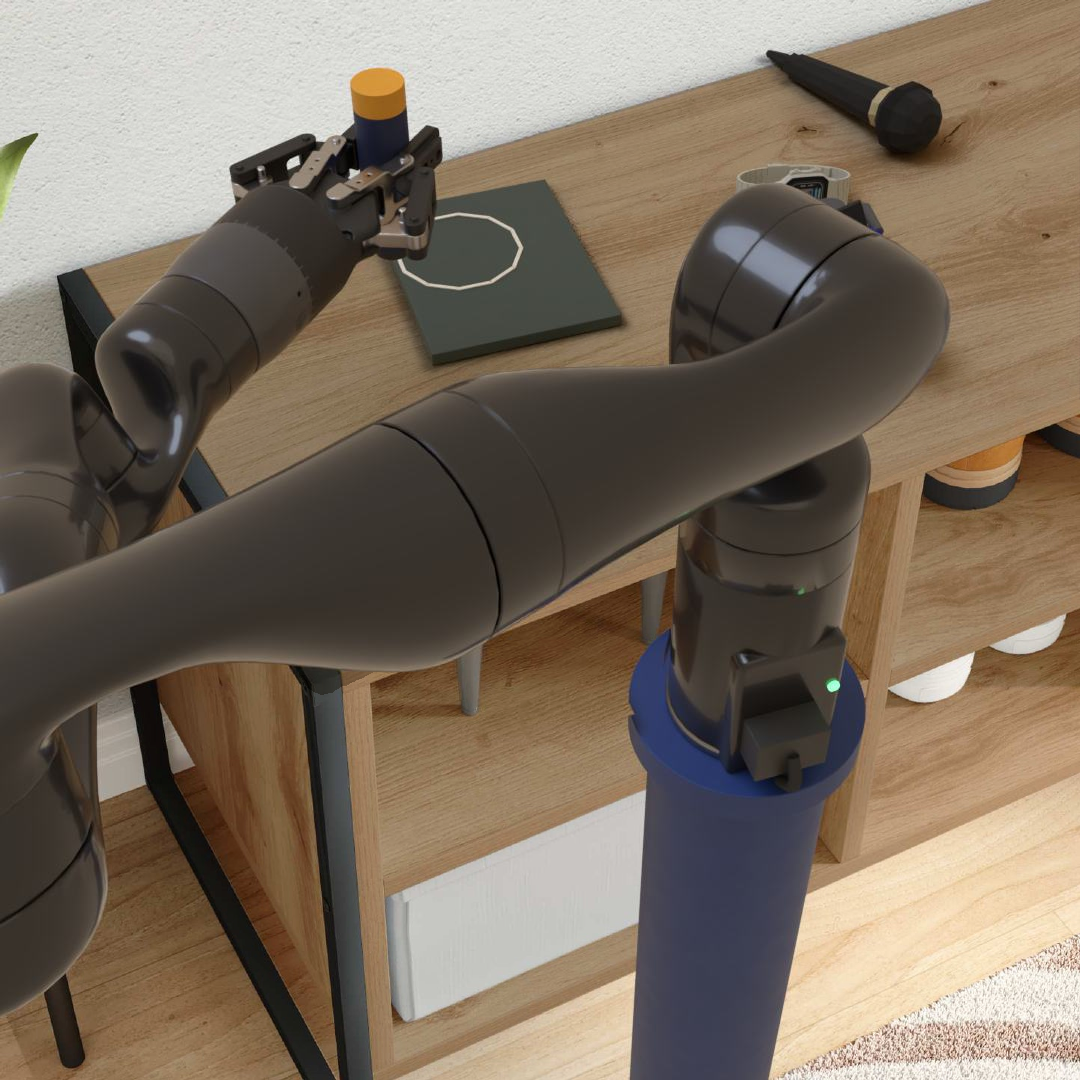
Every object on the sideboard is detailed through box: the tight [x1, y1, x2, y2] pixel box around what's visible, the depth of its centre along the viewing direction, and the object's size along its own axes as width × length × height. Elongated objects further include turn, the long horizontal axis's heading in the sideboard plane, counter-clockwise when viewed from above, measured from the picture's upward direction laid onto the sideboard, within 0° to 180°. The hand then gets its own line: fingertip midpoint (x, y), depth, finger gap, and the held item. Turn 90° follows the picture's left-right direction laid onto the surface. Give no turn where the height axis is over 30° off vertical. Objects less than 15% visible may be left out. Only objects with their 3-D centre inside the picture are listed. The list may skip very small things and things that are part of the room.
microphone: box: [765, 49, 944, 155], centre depth 131 cm, size 6×6×20 cm
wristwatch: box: [735, 162, 852, 205], centre depth 120 cm, size 9×6×5 cm
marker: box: [349, 67, 410, 261], centre depth 97 cm, size 3×3×12 cm
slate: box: [388, 178, 622, 366], centre depth 117 cm, size 18×14×1 cm
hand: (407, 132), depth 98 cm, fingers closed on marker, 3 cm apart
